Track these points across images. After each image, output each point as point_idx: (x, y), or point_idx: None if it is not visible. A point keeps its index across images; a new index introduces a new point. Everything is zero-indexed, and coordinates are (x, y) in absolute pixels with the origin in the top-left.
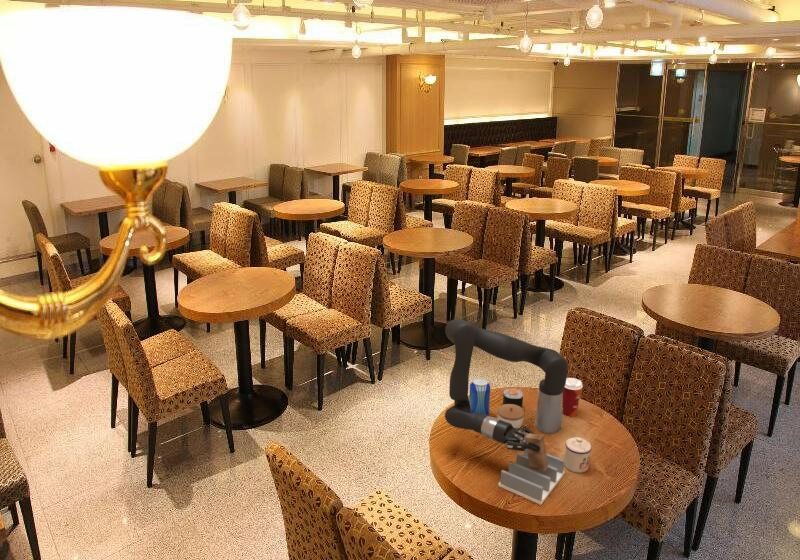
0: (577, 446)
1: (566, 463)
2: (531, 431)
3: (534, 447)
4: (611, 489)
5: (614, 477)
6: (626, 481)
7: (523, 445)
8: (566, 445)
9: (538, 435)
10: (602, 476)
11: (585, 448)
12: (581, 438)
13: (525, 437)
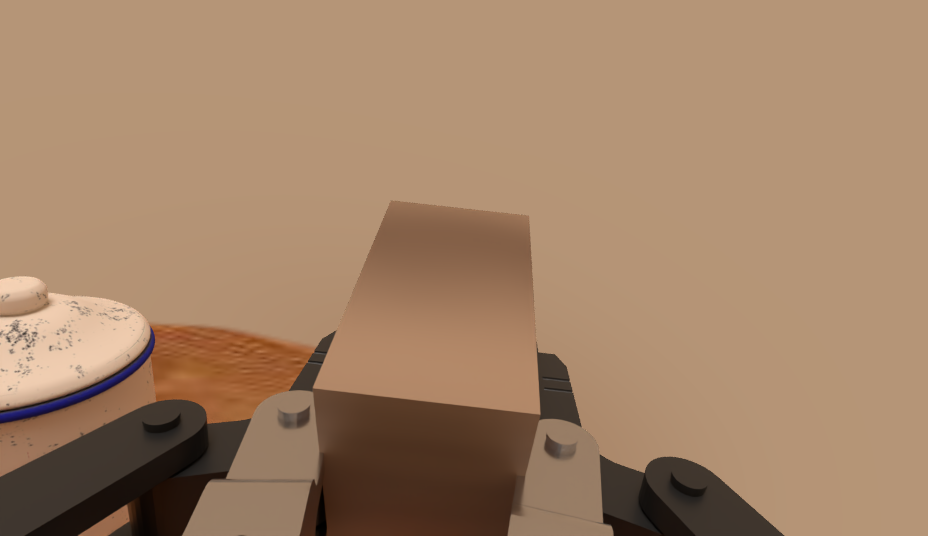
0: (91, 325)
1: (91, 533)
2: (42, 465)
3: (561, 374)
4: (286, 363)
5: (181, 361)
6: (205, 333)
7: (711, 475)
8: (23, 404)
9: (396, 244)
10: (181, 393)
11: (107, 305)
12: (11, 277)
13: (539, 412)
